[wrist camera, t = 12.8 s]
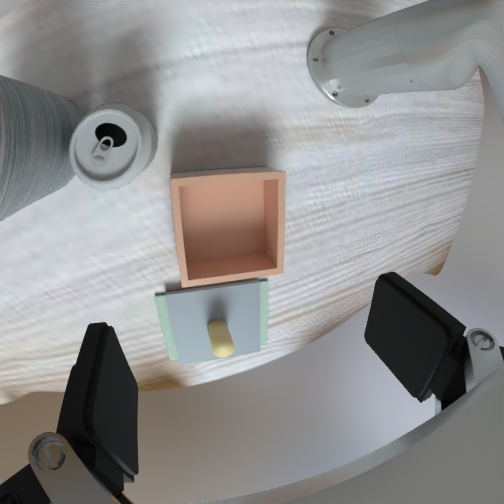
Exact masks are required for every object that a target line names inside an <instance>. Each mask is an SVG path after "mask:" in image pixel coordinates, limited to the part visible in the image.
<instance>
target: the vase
mask: <svg viewBox="0 0 504 504" xmlns="http://www.w3.org/2000/svg"><path fill="white" fill-rule="evenodd" d="M82 117H83V115H82V113H81V112H80V110H79V109H78V107H77V106H76V105H75V104H74V103H73V102H72V101H70V100H68V99H67V98H64V97H62V96H59V95H57V94H54V93H51V92H48V91H46V90H43V89H40V88H37V87H35V86H32V85H29V84H26V83H23V82H20V81H17V80H14V79H11V78H8V77H5V76H1V75H0V221H2V220H4V219H5V218H7V217H9V216H10V215H12V214H14V213H16V212H17V211H19V210H21V209H23V208H24V207H26V206H28V205H30V204H32V203H34V202H35V201H37V200H39V199H41V198H43V197H45V196H47V195H49V194H51V193H53V192H55V191H57V190H59V189H61V188H62V187H63V186H65V185H66V184H67V183H68V182H69V181H70V180H71V179H72V178H73V177H74V175H75V172H74V171H73V168H72V165H71V162H70V159H69V143H70V139H71V135H72V132H73V130H74V129H75V127H76V125H77V124H78V122H79V120H80V119H81V118H82Z"/></svg>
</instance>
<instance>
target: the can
mask: <svg viewBox="0 0 504 504" xmlns="http://www.w3.org/2000/svg"><path fill="white" fill-rule="evenodd" d="M156 150H157V135H156V132H155V129H154V128H153V126H152V125H151V124H150V122H149V121H148V120H147V119H146V118H145V117H144V116H143V115H142V114H141V113H140V112H138V111H137V110H135V109H133V108H132V107H130V106H128V105H124V104H119V103H109V104H102V105H100V106H98V107H96V108H94V109H92V110H90V111H89V112H88V113H87V114H86V115H84V116H83V117H82V118H81V119H80V120H79V122H78V124H77V125H76V127H75V129H74V130H73V132H72V135H71V139H70V143H69V159H70V162H71V165H72V168H73V171H74V172H75V174H76V175H77V176H78V177H79V179H80V180H81V181H82V182H84V183H85V184H87V185H88V186H90V187H92V188H95V189H100V190H113V189H118V188H120V187H123V186H125V185H127V184H129V183H130V182H132V181H133V180H134V179H135V178H136V177H137V176H138V175H140V174H141V173H142V172H143V171H144V170H145V169H146V168H147V167H148V166H149V165H150V163H151V162H152V160H153V159H154V157H155V154H156Z"/></svg>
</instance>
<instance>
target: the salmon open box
mask: <svg viewBox="0 0 504 504" xmlns="http://www.w3.org/2000/svg"><path fill="white" fill-rule="evenodd" d="M170 186H171V198H172V209H173V220H174V229H175V238H176V247H177V255H178V262H179V270H180V277H181V284H182V288H183V287H191V286H198V285H206V284H213V283H220V282H227V281H235V280H242V279H249V278H255V277H262V276H269V275H275V274H282V273H283V267H284V231H285V171H281V170H278V169H274V168H270V167H245V168H227V169H212V170H199V171H188V172H178V173H170Z"/></svg>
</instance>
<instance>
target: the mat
mask: <svg viewBox="0 0 504 504" xmlns="http://www.w3.org/2000/svg"><path fill="white" fill-rule="evenodd" d="M155 299H156V304H157V309H158V313H159V318H160V322H161V326H162V330H163V334H164V338H165V342H166V346H167V350H168V354H169V358H170V361H171V360H179V356H178V352H177V348H176V344H175V339H174V335H173V330H172V326H171V321H170V316H169V311H168V306H167V301H166V296H165V294H164V295H156V296H155ZM267 324H268V281H267V280H265V281H260V346H263V345H267Z"/></svg>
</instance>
